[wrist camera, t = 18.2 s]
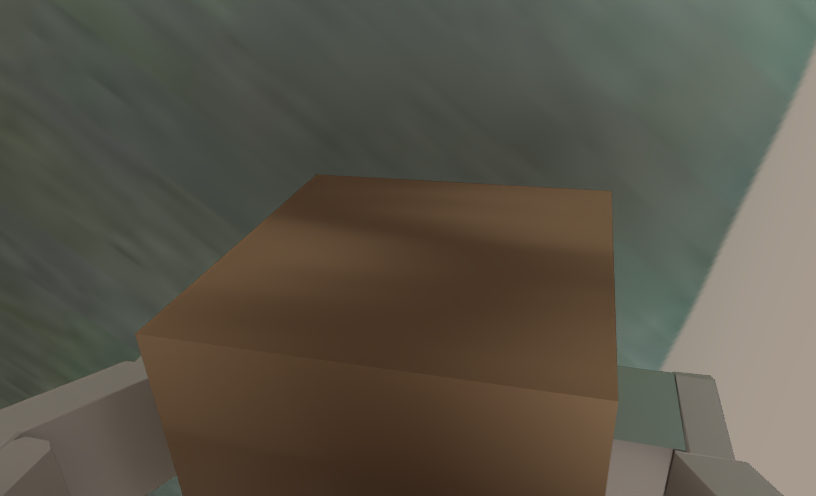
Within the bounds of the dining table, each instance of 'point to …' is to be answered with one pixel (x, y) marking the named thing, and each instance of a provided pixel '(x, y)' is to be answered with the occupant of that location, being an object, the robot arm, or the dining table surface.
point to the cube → (397, 346)
